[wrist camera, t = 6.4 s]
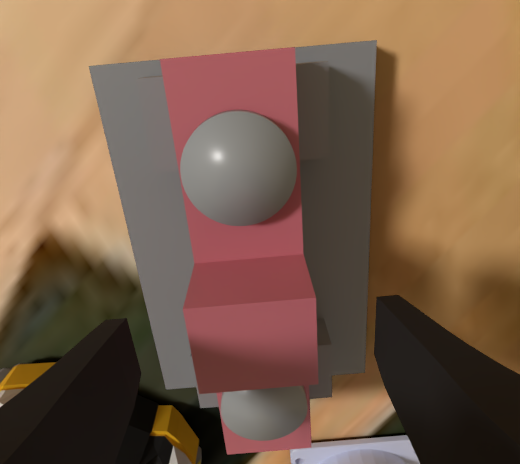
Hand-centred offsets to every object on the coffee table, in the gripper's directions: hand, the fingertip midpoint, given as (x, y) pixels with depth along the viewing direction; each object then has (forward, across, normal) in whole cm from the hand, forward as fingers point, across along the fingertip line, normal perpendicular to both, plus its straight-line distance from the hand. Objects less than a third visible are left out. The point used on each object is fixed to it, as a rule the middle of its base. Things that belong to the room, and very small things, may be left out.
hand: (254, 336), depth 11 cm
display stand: (+7, 0, 0) cm, 7 cm away
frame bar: (+4, 0, 0) cm, 4 cm away
